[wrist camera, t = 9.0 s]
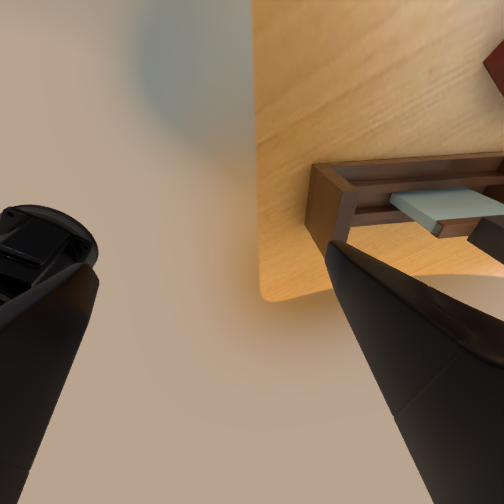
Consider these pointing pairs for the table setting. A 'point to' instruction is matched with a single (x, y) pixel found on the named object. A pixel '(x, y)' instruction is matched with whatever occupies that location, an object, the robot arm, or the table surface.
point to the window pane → (457, 216)
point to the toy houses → (496, 66)
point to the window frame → (389, 189)
